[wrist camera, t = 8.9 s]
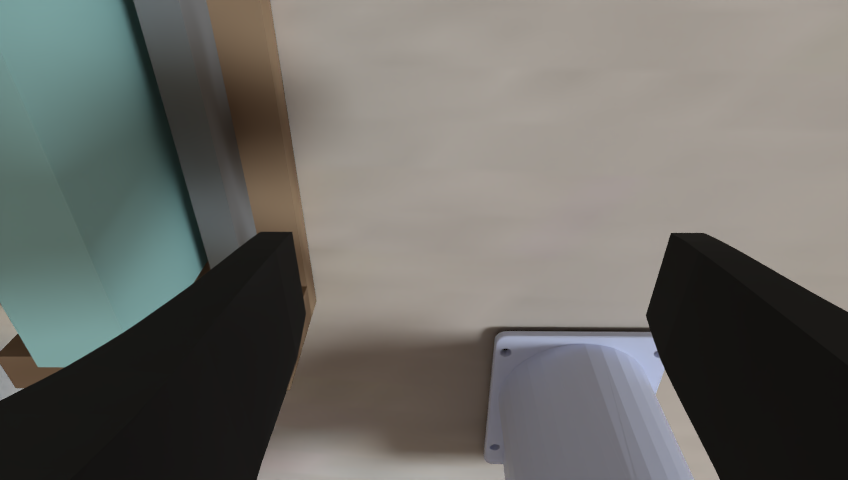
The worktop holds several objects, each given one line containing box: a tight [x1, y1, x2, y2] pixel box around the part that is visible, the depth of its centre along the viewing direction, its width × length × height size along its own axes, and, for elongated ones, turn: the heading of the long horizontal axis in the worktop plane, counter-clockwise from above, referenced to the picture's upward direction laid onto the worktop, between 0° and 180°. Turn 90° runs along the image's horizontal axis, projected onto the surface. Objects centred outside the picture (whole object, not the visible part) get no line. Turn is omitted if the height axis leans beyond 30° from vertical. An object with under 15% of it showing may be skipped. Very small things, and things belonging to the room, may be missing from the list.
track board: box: [0, 0, 316, 390], centre depth 15 cm, size 19×10×5 cm, turn 0°
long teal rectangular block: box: [0, 0, 208, 367], centre depth 14 cm, size 12×3×6 cm, turn 0°
